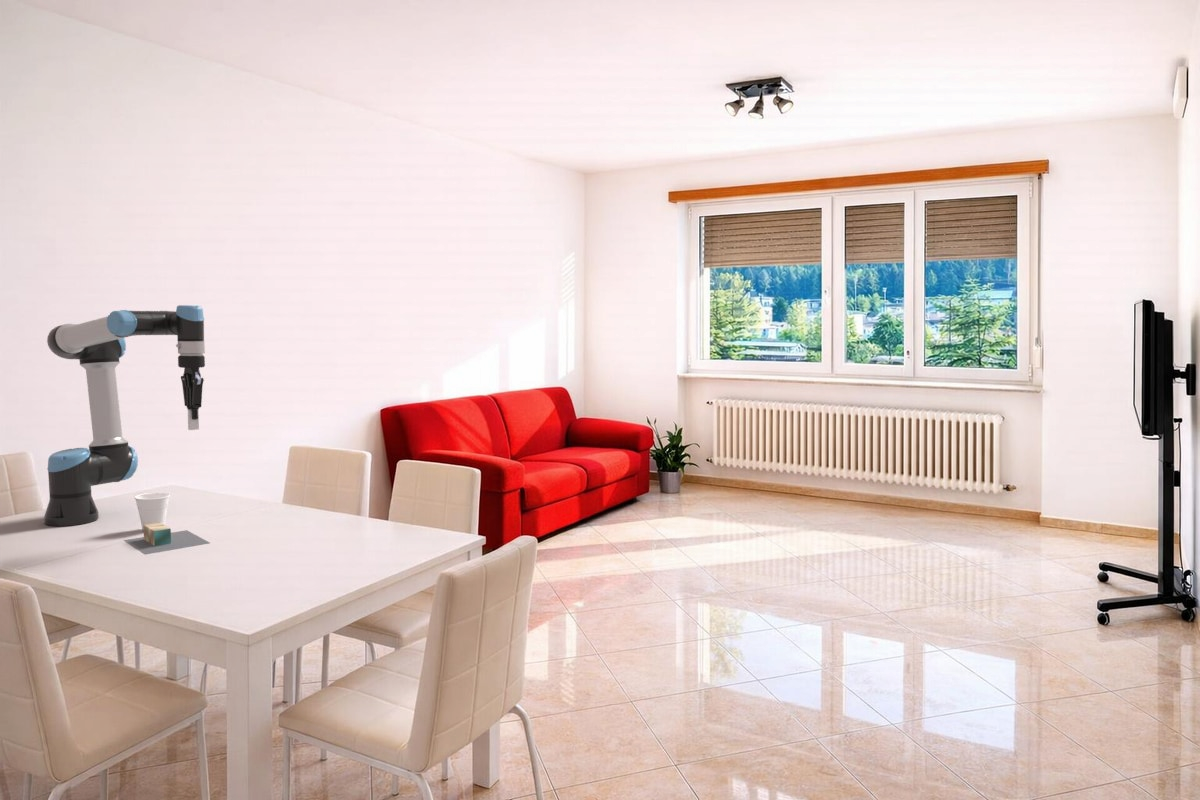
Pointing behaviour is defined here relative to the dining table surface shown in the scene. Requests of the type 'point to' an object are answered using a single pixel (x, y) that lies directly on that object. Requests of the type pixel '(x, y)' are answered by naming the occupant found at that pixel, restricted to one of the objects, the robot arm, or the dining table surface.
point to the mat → (177, 542)
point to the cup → (152, 507)
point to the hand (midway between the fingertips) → (193, 429)
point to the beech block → (157, 534)
